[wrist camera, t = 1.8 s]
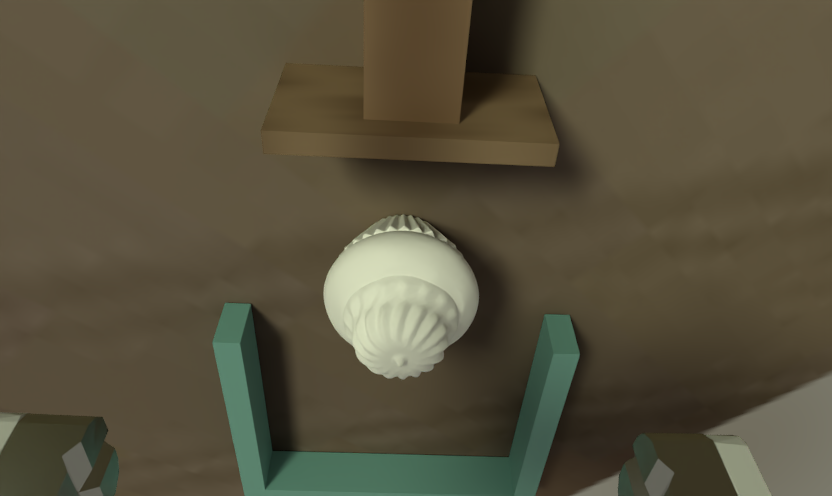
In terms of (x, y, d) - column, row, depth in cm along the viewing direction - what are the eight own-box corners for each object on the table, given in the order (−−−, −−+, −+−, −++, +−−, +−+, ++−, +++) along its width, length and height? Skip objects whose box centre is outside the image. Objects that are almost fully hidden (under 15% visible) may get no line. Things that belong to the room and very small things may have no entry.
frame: (569, 314, 31) (580, 354, 29) (525, 469, 39) (531, 507, 37) (225, 302, 30) (212, 342, 29) (254, 462, 39) (245, 500, 37)
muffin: (422, 312, 31) (425, 437, 26) (307, 260, 29) (283, 384, 23) (501, 225, 28) (523, 347, 22) (377, 159, 26) (368, 276, 20)
